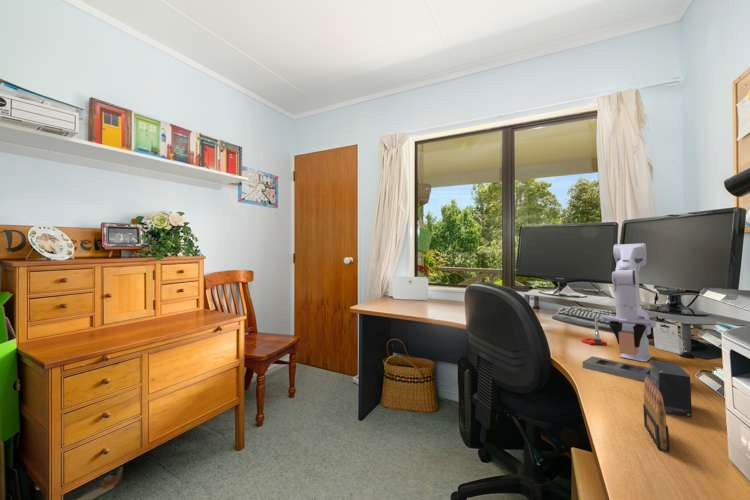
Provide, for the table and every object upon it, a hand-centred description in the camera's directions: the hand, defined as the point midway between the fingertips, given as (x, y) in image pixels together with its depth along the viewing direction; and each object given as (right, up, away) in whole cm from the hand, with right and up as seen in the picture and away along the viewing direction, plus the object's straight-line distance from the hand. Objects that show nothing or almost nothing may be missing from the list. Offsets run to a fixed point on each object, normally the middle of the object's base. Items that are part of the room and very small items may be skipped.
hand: (628, 345), depth 105 cm
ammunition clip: (-23, -10, -36) cm, 43 cm away
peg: (0, -3, 0) cm, 3 cm away
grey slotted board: (0, -9, -1) cm, 9 cm away
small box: (-7, -10, -23) cm, 26 cm away
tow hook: (+14, -10, +36) cm, 40 cm away
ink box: (+33, -9, +21) cm, 40 cm away
